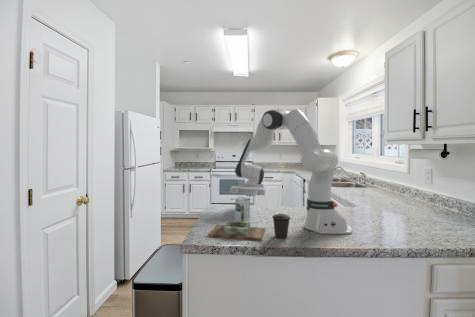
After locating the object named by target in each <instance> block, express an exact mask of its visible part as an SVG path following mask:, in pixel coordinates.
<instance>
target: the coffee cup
mask: <svg viewBox="0 0 475 317" xmlns="http://www.w3.org/2000/svg"><path fill="white" fill-rule="evenodd" d="M272 219H273V228H274V237H275V238H276V239H281V240H285V239H287V238H288V233H289V225H290V219H291V216H290V215H288V214H284V213H277V214H273V215H272Z"/></svg>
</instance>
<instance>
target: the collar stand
mask: <svg viewBox="0 0 475 317" xmlns="http://www.w3.org/2000/svg"><path fill="white" fill-rule="evenodd" d="M265 230H266V228H265V227H257V226H256V227H255V226H251V221H250V222H242V221H235V220H228V222H227V223H226V224H216V225H215V226H214V227H213V228H212V229H211V230H210V232H209V233H208V238H221V239H234V240H246V241H257V242H258V241H260V242H262V241H263V238H264V235H265Z"/></svg>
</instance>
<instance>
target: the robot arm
mask: <svg viewBox="0 0 475 317" xmlns="http://www.w3.org/2000/svg"><path fill="white" fill-rule="evenodd" d="M287 129H288V131H289V132H290V135H291V136H292V138H293V139H294V142H295V143H296V145H297V146H298V149H299V152H300V153H299V154H300V156H301V159H300V164H301V167H302V168H303V170H305V171H306V172H310V173H311V177H310V180H309V181H308V184H307V198H306V215H305V216H306V217H305V221H304V224H303V227H304V229H307V230H310V231H312V232H315V233H317V234H324V235H325V234H326V235H327V234H328V235H330V234H331V235H332V234H334V235H335V234H336V235H337V234H338V235H349V234H352V232H353V230H352V227H351V226H350V225H349V224H348V222H347V219H346V218H347V217H345V215H344V214H343V213H342V212H340V211H339V210H338V209H336V208H337V207H338V204H337V202H336V201H334V200H332V185H333V179H334V174H335V170H336V167H337V165H338V163H339V157H338V155H337V154H336V153H335V152H334V151H332V150H330V149H323V148H322V146H321V144H320V142H319V135H318V133H317V131H316V130H315V128H314V126H313V125H312V123H311V122H310V120H309V119H308V117H307V116H306V115H305V114H304V112H302V111H301V110H300V109H298V108H297V109H296V108H295V109H291V110H290V109H270V110H269V109H268V110H267V111H265V112H264V113H263V114H262V117H261V118H260V120H259V121H258V124H257V127H256V130H255V134H254V136H253V138H251V139H248V141H247V143H246V144H245V147H244V149H243V150H242V154H241V156H240V158H239V161H238V162H237V164H236V166H235V168H234V174H235V175H236V177H238V178H242V179H247V180H246V182H244V184H242V185H232V186H231V187H230V194H234V195H245V197H253V196H254V197H255V196H266V187H265V185H264V184H263V180H264V177H265V170H264V168H263V167H262V166H259V165H256V164H252V163H248V162H247V159H248V157H249V156H250V154H251V152H254V151H262V150H266V149H269V148H270V147H271V146H272V144H273V141H274V139H275V134H276V131H278V130H280V131H281V130H287Z"/></svg>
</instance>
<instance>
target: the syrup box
mask: <svg viewBox="0 0 475 317" xmlns="http://www.w3.org/2000/svg"><path fill="white" fill-rule="evenodd" d="M234 201H235V203H234V208H235V209H234V221H242V222H250V223H251V197H250V196H244V195H240V196H235V199H234Z"/></svg>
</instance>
